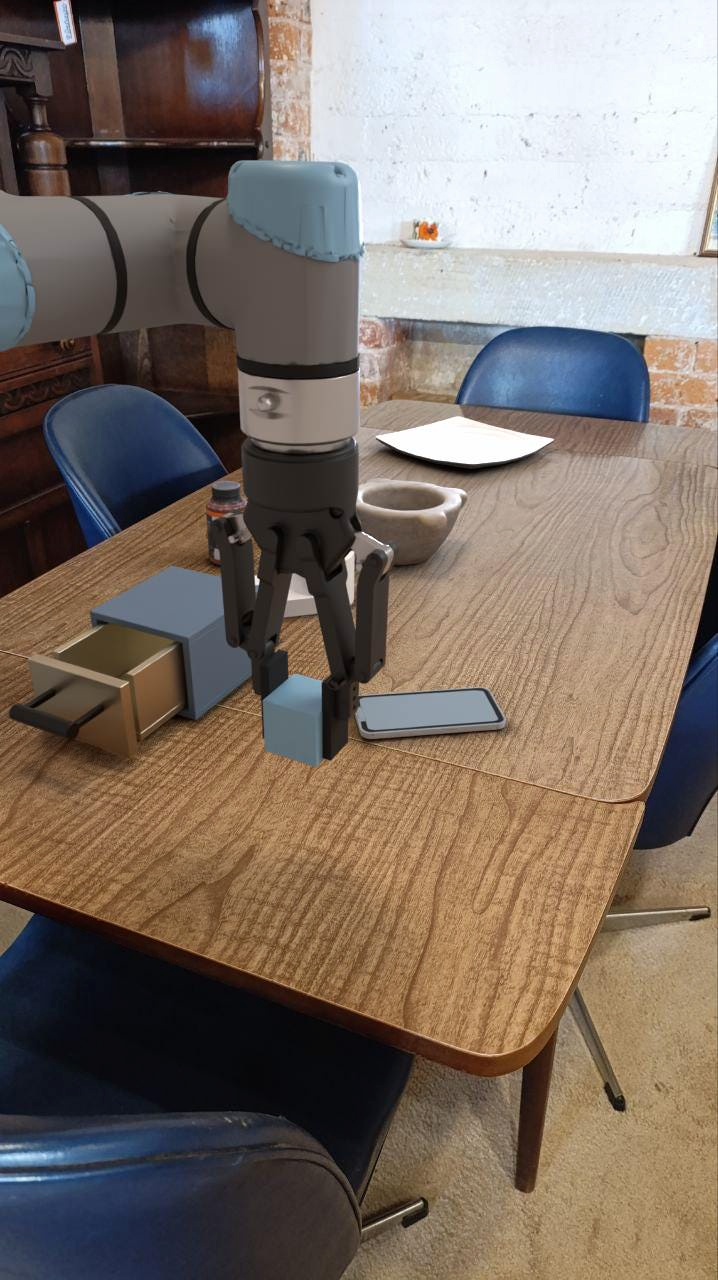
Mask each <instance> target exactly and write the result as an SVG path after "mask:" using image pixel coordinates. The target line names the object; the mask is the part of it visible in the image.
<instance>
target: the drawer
mask: <svg viewBox="0 0 718 1280" xmlns="http://www.w3.org/2000/svg"><path fill="white" fill-rule="evenodd" d="M52 655H53V657H49V656H46V655H43V654H39V653H35V654H33V655H32V656H29V657H28V658H27V663H28V668H29V673H30V679H31V683H32V689H33V694H34V698H32V699H31V700H29V701H28V702H27V703H25V704H22V703H18V702H17V703H14V704H13V705H12V706H11V707H10V708H9V711H8V717H9V719H10V720H11V721H14V722H17V723H20V724H23V725H25V726H29V727H32V728H34V729H36V730H39V731H43V732H45V733H48V734H50V735H54V736H57V737H59V738H63V739H65V740H68V741H74V740H77V741H80V742H83V743H85V744H88V745H92V746H94V747H98V748H100V749H103V750H106V751H109V752H110V753H114V754H117V755H120V756H123V757H125V758H128V759H131V758H133V757H134V756H135V755H137V754H138V753H139V747H138V740H139V741H143V740H144V739H145V738H146V737H148V736H149V735H150V734H152V733H153V732H154V731H156V730H157V729H158V728H160V727H161V726H162V725H164V724H165V723H166V722H167V721H169V720H170V719H171V718H173V717H174V716H175V715H177V714H176V713H178V712H179V711H180V710H182V709H183V708H184V707H186V706H187V705H188V694H187V684H186V674H185V663H184V653H183V643H181V642H177V641H174V640H170V639H166V638H163V637H159V636H156V635H152V634H148V633H145V632H141V631H137V630H134V629H130V628H126V627H123V626H119V625H115V624H112V623H108V622H105V621H104V622H102V623H100V624H99V625H97V626H95V627H94V628H92V627H91V628H89V629H88V630H86V631H85V632H83V633H82V634H80V635H78V636H76V637H75V638H73V639H71V640H69V641H68V642H66V643H64V644H62V645H60V646H59V647H57V648H55V649H53V650H52Z"/></svg>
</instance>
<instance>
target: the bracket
mask: <svg viewBox="0 0 718 1280" xmlns="http://www.w3.org/2000/svg"><path fill="white" fill-rule="evenodd" d="M345 562H346V567H347V572H348V578H347V581H346V587H347V592H348V596H349V601H350V606H352V604H353V603H354V600H355V552H354V551H353V550H351V551H350V552H349V554H348V555H347V556H346V557H345ZM255 585H257V586H259V579H258V578H257V574H256V575H255ZM309 615H318V614H317V609H316V605H315V600H314V597H313V596H312V595H310V594H309V592H308V588H307V584H306V579H305V578H303V577H301V576H299V575H297V574H295V573H293V574H292V579H291V583H290V588H289V593H288V598H287V603H286V608H285V613H284V618H293V617H300V616H301V617H303V616H309Z"/></svg>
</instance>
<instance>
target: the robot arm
mask: <svg viewBox="0 0 718 1280" xmlns="http://www.w3.org/2000/svg"><path fill="white" fill-rule="evenodd" d="M227 177H228V178H227V179H228V181H227V182H228V185H227V186H228V188H227V196H226V197H214V196H213V197H211V196H199V195H187V194H173V193H172V192H167V191H160V190H158V191H153V192H150V191H149V192H148V191H137V192H133V193H130V194H123V195H85V196H81V195H79V196H78V195H77V196H76V195H74V196H72V195H47V196H46V195H36V196H35V195H33V196H32V195H29V196H27V195H26V196H25V195H24V196H20V195H15V194H12V193H11V194H10V193H7V192H5V191H4V190H2V189H0V352H5V351H7V350H10V349H12V348H14V349H15V348H19V347H26V346H32V345H40V344H45V343H52V342H57V341H58V342H59V341H66V340H71V339H77V338H82V337H83V338H85V337H90V336H98V335H109V334H116V333H123V332H129V331H137V330H144V329H151V328H158V327H165V326H171V325H182V324H185V325H188V324H189V325H190V324H191V325H199V326H206V327H215V328H221V329H225V330H230V331H235V343H236V352H235V353H236V368H237V382H238V402H239V403H238V405H239V421H240V425H239V426H240V430H241V432H242V433H243V434H244V435H245V436H247V437H246V438H245V439H244V441H243V442H242V444H241V446H240V451H241V452H240V453H241V472H242V473H241V474H242V491H243V494H244V496H245V497H246V499H247V500H246V501H247V504H246V506H245V508H244V511H243V512H240V511H239V510H237V509H234V510H232V511H230V512H228V513H226V514H225V515H223V516H221V517H219V518H217V519H215V520H213V521H212V522H211V524H210V528H211V531H212V534H213V537H214V539H215V542H216V545H217V547H218V550H219V555H220V565H219V566H220V577H221V581H222V594H223V607H224V620H225V633H226V641H227V643H228V645H229V646H230V647H232V648H237V647H240V648H242V649H243V650H245V651H246V652H247V655H248V657H249V658H250V659H251V668H252V676H251V685H252V686H251V687H252V690H253V692H254V695H257V696H260V708H261V731H262V740H264V720H263V700H264V699H265V698H266V697H267V696H268V695H270V694H271V693H272V692H273V691H274V690H275V689H277V688H278V687H279V686H280V685H281V684H282V683H284V682H285V681H286V680H287V679H288V678H289V652H288V651H287V650H284V649H281V648H279V649H277V650H276V648H277V647H278V646H280V645H281V644H282V643H283V642H284V639H283V638H282V639H281V632H282V628H283V623H284V618H285V617H284V613H285V608H286V603H287V598H288V593H289V588H290V583H291V579H292V574H293V573H295V574H297V575H299V576H301V577H303V578H305V579H306V584H307V588H308V592H309V594H310V595H312V596H313V597H314V600H315V605H316V609H317V614H316V615H317V618H318V622H319V627H320V632H321V637H322V641H323V646H324V649H325V650H324V651H325V654H326V660H327V663H328V668H329V673H330V674H329V675H328V676H327V677H326V678H325V679H324V680H322V681H323V682H322V758H324V760H327V761H330V762H331V761H333V759H334V758H336V756H337V755H338V754H339V753H340V752H341V751H342V750H343V749H344V748H345V746H346V745H347V744H348V743H349V720H351V718H352V717H353V716H355V713H356V711H357V709H358V707H359V701H358V700H359V695H360V684H362V685H366V684H368V683H369V682H370V681H371V680H372V679H373V678H375V676H376V675H378V674H379V672H380V671H381V670H382V669H383V668H384V667H385V665H386V659H387V658H386V657H387V635H388V634H387V633H388V614H389V593H390V592H389V591H390V589H389V588H390V574H391V572H392V570H393V567H394V566H395V565H394V563H395V560H396V558H397V556H398V553H399V548H398V546H397V544H396V543H395V542H393V541H386V542H384V543H383V544H381V543H380V542H378V541H377V540H375V539H373V538H372V537H370V536H368V535H367V534H365V533H363V529H362V524H361V522H360V520H359V517H358V515H357V511H356V502H357V496H358V488H359V485H360V484H359V483H360V481H359V479H360V445H359V443H358V442H357V441H356V439H355V438H354V436H356V434H357V433H359V431H360V429H361V378H360V377H361V369H360V368H361V367H360V366H361V361H360V360H361V359H360V358H361V357H360V356H361V353H360V351H359V350H360V326H361V325H360V324H361V323H360V322H361V306H362V304H361V303H362V287H363V286H362V285H363V284H362V283H363V266H364V265H363V264H364V255H365V252H366V247H365V245H366V243H365V240H364V238H363V237H364V236H363V218H362V217H363V214H362V193H361V191H362V190H361V183H360V179H359V176H358V174H357V173H356V171H355V170H354V169H353V168H352V167H351V166H350V165H349V164H347V163H344V162H342V161H322V160H321V161H319V160H318V161H315V160H270V159H269V160H268V159H267V160H266V159H265V160H262V159H261V160H259V159H258V160H249V159H248V160H238V161H236V162H234V164H232V165H231V167H230V170H229V172H228V176H227ZM252 538H253V540H254V541H255V543H256V545H257V546H258V548H259V549H260V556H259V561H258V567H257V572H255V560H254V557H255V556H254V546H253V545H254V544H253V540H252ZM350 551H354V555H355V564H354V570H356V572H358V573H359V575H358V578H357V582H356V595H355V596H356V598H355V599H356V600H355V621H354V615H353V612H352V607H351V606H352V605H350V601H349V596H348V592H347V587H346V581H347V578H348V572H347V567H346V562H345V557H346V556H347V555H348V554H349V552H350ZM255 573H257V574H256V575H257V578H258V579H259V587H258V592H257V598H256V591H255Z"/></svg>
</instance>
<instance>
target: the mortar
mask: <svg viewBox="0 0 718 1280" xmlns="http://www.w3.org/2000/svg"><path fill="white" fill-rule="evenodd" d="M468 498H469V497H468V494H467V493H466V492H465V490H463V489H460V488H455V487H447V486H446V487H445V486H440V485H437V484H432V483H427V482H421V481H414V480H413V481H411V480H396V479H395V480H393V479H389V478H383V477H380V478H379V477H377V478H376V477H375V478H370V479H367V480H365V481H364V483H361V484H359V488H358V496H357V502H356V511H357V515H358V517H359V520H360V522H361V524H362V529H363V533H365V534H367V535H368V536H370V537H372V538H373V539H375V540H377V541H378V542H380V543H381V544H383V543H384V542H386V541H393V542H395V543H396V544H397V546H398V548H399V553H398V556H397V558H396V560H395V563H394V565H393V566H408V565H409V566H410V565H414V564H419V563H422V562H424V561H426V560H428V559H430V558H431V557H432V556H434V555H435V553H436V552H437V551H438V550H439V549H440V548H441V547H442V545H443V544H444V543H445V541H446V540H447V538H448V537H449V535H450V534H451V532H452V531H453V528H454V527H455V525H456V522H457V520H458V518H459V515H460V512H461V510H462V509H463V508H464V506H465V505H466V503H467V502H468Z"/></svg>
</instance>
